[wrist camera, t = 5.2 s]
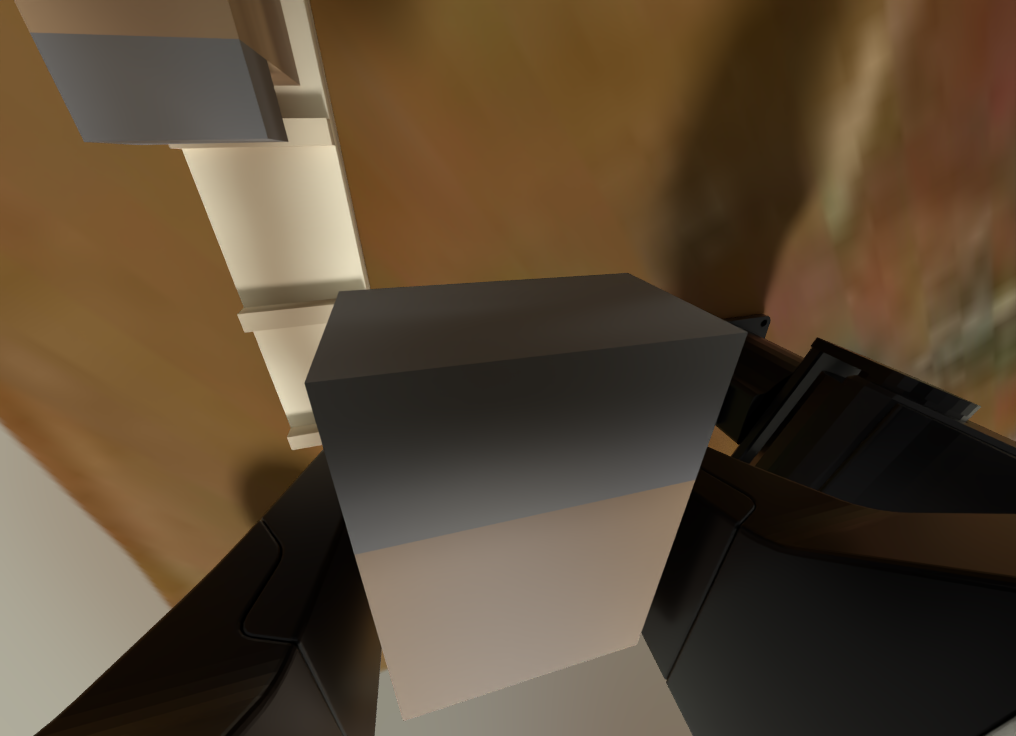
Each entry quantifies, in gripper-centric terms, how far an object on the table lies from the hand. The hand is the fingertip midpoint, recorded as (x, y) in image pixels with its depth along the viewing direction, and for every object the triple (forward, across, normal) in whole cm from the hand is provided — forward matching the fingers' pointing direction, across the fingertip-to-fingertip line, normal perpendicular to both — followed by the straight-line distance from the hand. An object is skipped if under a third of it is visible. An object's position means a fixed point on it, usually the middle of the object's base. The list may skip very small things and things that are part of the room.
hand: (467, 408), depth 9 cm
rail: (+12, +5, -2) cm, 13 cm away
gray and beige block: (+1, 0, 0) cm, 1 cm away
